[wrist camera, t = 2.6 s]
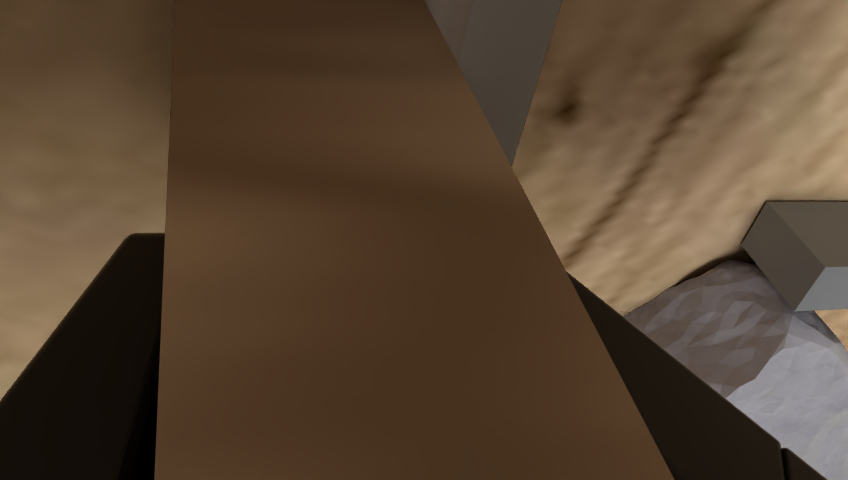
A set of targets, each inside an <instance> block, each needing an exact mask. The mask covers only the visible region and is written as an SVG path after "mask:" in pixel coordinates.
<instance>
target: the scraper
mask: <svg viewBox="0 0 848 480" xmlns="http://www.w3.org/2000/svg"><path fill="white" fill-rule="evenodd" d="M561 3H562V0H175V18H174V41H173V64H172V87H171V110H170V133H169V156H168V179H167V202H166V225H165V248H164V271H163V294H162V317H161V340H160V363H159V386H158V409H157V432H156V455H155V478H154V480H674V478H673V476H672V474H671V472H670V470H669V468H668V466H667V464H666V462H665V461H664V459H663V457H662V455H661V453H660V451H659V449H658V447H657V445H656V443H655V441H654V439H653V438H652V436H651V434H650V432H649V430H648V428H647V426H646V424H645V422H644V420H643V418H642V416H641V415H640V413H639V411H638V409H637V407H636V405H635V403H634V401H633V399H632V397H631V395H630V393H629V392H628V390H627V388H626V386H625V384H624V382H623V380H622V378H621V376H620V374H619V372H618V370H617V369H616V367H615V365H614V363H613V361H612V359H611V357H610V355H609V353H608V351H607V349H606V347H605V346H604V344H603V342H602V340H601V338H600V336H599V334H598V332H597V330H596V328H595V326H594V324H593V322H592V321H591V319H590V317H589V315H588V313H587V311H586V309H585V307H584V305H583V303H582V301H581V299H580V298H579V296H578V294H577V292H576V290H575V288H574V286H573V284H572V282H571V280H570V278H569V276H568V275H567V273H566V271H565V269H564V267H563V265H562V263H561V261H560V259H559V257H558V255H557V253H556V252H555V250H554V248H553V246H552V244H551V242H550V240H549V238H548V236H547V234H546V232H545V230H544V229H543V227H542V225H541V223H540V221H539V219H538V217H537V215H536V213H535V211H534V209H533V207H532V206H531V204H530V202H529V200H528V198H527V196H526V194H525V192H524V190H523V188H522V186H521V184H520V182H519V181H518V179H517V177H516V175H515V173H514V171H513V169H512V167H511V166H512V163H513V160H514V157H515V153H516V150H517V147H518V144H519V140H520V137H521V134H522V130H523V127H524V124H525V121H526V117H527V114H528V111H529V107H530V104H531V101H532V98H533V94H534V91H535V88H536V85H537V81H538V78H539V75H540V71H541V68H542V65H543V62H544V58H545V55H546V52H547V49H548V45H549V42H550V39H551V35H552V32H553V29H554V26H555V22H556V19H557V16H558V13H559V9H560V6H561Z"/></svg>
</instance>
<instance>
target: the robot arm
mask: <svg viewBox="0 0 848 480" xmlns="http://www.w3.org/2000/svg"><path fill="white" fill-rule="evenodd" d="M164 248H165V233H133V234H130V235H129V236H127V237H126V238H125V239H124V241H123V242H122V243H121V245H120V246H119V247H118V248H117V250H116V251H115V252H114V254H113V255H112V256H111V258H110V259H109V260H108V261H107V263H106V264H105V265H104V267H103V268H102V269H101V271H100V272H99V273H98V274H97V276H96V277H95V278H94V280H93V281H92V282H91V284H90V285H89V286H88V287H87V289H86V290H85V291H84V293H83V294H82V295H81V297H80V298H79V299H78V300H77V302H76V303H75V304H74V306H73V307H72V308H71V310H70V311H69V312H68V313H67V315H66V316H65V317H64V319H63V320H62V321H61V323H60V324H59V325H58V326H57V328H56V329H55V330H54V332H53V333H52V334H51V336H50V337H49V338H48V339H47V341H46V342H45V343H44V345H43V346H42V347H41V349H40V350H39V351H38V352H37V354H36V355H35V356H34V358H33V359H32V360H31V362H30V363H29V364H28V365H27V367H26V368H25V369H24V371H23V372H22V373H21V375H20V376H19V377H18V378H17V380H16V381H15V382H14V384H13V385H12V386H11V388H10V389H9V390H8V391H7V393H6V394H5V395H4V397H3V398H2V399H1V401H0V480H154V478H155V455H156V432H157V409H158V386H159V363H160V340H161V317H162V294H163V271H164ZM566 273H567V275H568V276H569V278H570V280H571V282H572V284H573V286H574V288H575V290H576V292H577V294H578V296H579V298H580V299H581V301H582V303H583V305H584V307H585V309H586V311H587V313H588V315H589V317H590V319H591V321H592V322H593V324H594V326H595V328H596V330H597V332H598V334H599V336H600V338H601V340H602V342H603V344H604V346H605V347H606V349H607V351H608V353H609V355H610V357H611V359H612V361H613V363H614V365H615V367H616V369H617V370H618V372H619V374H620V376H621V378H622V380H623V382H624V384H625V386H626V388H627V390H628V392H629V393H630V395H631V397H632V399H633V401H634V403H635V405H636V407H637V409H638V411H639V413H640V415H641V416H642V418H643V420H644V422H645V424H646V426H647V428H648V430H649V432H650V434H651V436H652V438H653V439H654V441H655V443H656V445H657V447H658V449H659V451H660V453H661V455H662V457H663V459H664V461H665V462H666V464H667V466H668V468H669V470H670V472H671V474H672V476H673V478H674V480H828V479H826V478H825V477H824V476H822V475H821V474H820V473H819V472H817V471H816V470H815V469H814V468H812V467H811V466H810V465H809V464H807V463H806V462H805V461H804V460H802V459H801V458H800V457H799V456H797V455H796V454H795V453H794V452H792V451H791V450H790V449H788V448H781V444H780V442H779V441H778V440H777V439H776V438H774V437H773V436H772V435H771V434H769V433H768V432H767V431H766V430H764V429H763V428H762V427H761V426H759V425H758V424H757V423H756V422H754V421H753V420H752V419H751V418H749V417H748V416H747V415H745V414H744V413H743V412H742V411H740V410H739V409H738V408H737V407H735V406H734V405H733V404H732V403H730V402H729V401H728V400H727V399H725V398H724V397H723V396H722V395H720V394H719V393H718V392H717V391H715V390H714V389H713V388H712V387H710V386H709V385H708V384H707V383H705V382H704V381H703V380H702V379H700V378H699V377H698V376H697V375H695V374H694V373H693V372H692V371H690V370H689V369H688V368H687V367H685V366H684V365H683V364H682V363H680V362H679V361H678V360H677V359H675V358H674V357H673V356H672V355H670V354H669V353H668V352H667V351H665V350H664V349H663V348H662V347H660V346H659V345H658V344H657V343H655V342H654V341H653V340H652V339H650V338H649V337H648V336H646V335H645V334H644V333H643V332H641V331H640V330H639V329H638V328H636V327H635V326H634V325H633V324H631V323H630V322H629V321H628V320H626V319H625V318H624V317H623V316H621V315H620V314H619V313H618V312H616V311H615V310H614V309H613V308H611V307H610V306H609V305H608V304H606V303H605V302H604V301H603V300H601V299H600V298H599V297H598V296H596V295H595V294H594V293H593V292H591V291H590V290H589V289H588V288H586V287H585V286H584V285H583V284H581V283H580V282H579V281H578V280H576V279H575V278H574V277H573V276H571V275H570V274H569V273H568V272H566Z"/></svg>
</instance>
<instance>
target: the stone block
mask: <svg viewBox="0 0 848 480" xmlns="http://www.w3.org/2000/svg"><path fill="white" fill-rule="evenodd" d="M624 318H625V319H626V320H628V321H629V322H630V323H631V324H633V325H634V326H635V327H636V328H638V329H639V330H640V331H641V332H643V333H644V334H645V335H646V336H648V337H649V338H650V339H652V340H653V341H654V342H655V343H657V344H658V345H659V346H660V347H662V348H663V349H664V350H665V351H667V352H668V353H669V354H670V355H672V356H673V357H674V358H675V359H677V360H678V361H679V362H680V363H682V364H683V365H684V366H685V367H687V368H688V369H689V370H690V371H692V372H693V373H694V374H695V375H697V376H698V377H699V378H700V379H702V380H703V381H704V382H705V383H707V384H708V385H709V386H710V387H712V388H713V389H714V390H715V391H717V392H718V393H719V394H720V395H722V396H723V397H724V398H725V399H727V400H728V401H729V402H730V403H732V404H733V405H734V406H735V407H737V408H738V409H739V410H740V411H742V412H743V413H744V414H745V415H747V416H748V417H749V418H751V419H752V420H753V421H754V422H756V423H757V424H758V425H759V426H761V427H762V428H763V429H764V430H766V431H767V432H768V433H769V434H771V435H772V436H773V437H774V438H776V439H777V440H778V441H779V442H780V444H781V448H788V449H790V450H791V451H792V452H794V453H795V454H796V455H797V456H799V457H800V458H801V459H802V460H804V461H805V462H806V463H807V464H809V465H810V466H811V467H812V468H814V469H815V470H816V471H817V472H819V473H820V474H821V475H822V476H824V477H825V478H826V479H828V480H848V353H847V351H846V349H845V347H844V346H843V344H842V343H841V341H840V340H839V339H838V338H837V337H836V335H835V334H834V333H833V332H832V331H831V330H830V328H829V327H828V326H827V325H826V324H825V323H824V322H823V320H822V319H821V318H820V317H819V316H818V315H817V314H816V313H815V310H813V311H793V309H792V308H791V307H790V305H789V304H788V303H787V302H786V300H785V299H784V298H783V297H782V295H781V294H780V293H779V292H778V290H777V289H776V288H775V287H774V285H773V284H772V283H771V282H770V280H769V279H768V278H767V277H766V275H765V274H764V273H763V272H762V270H761V269H760V268H759V267H758V265H754V264H749V263H746V262H743V261H733V260H728V261H726V262H723V263H721V264H719V265H717V266H716V267H715V268H713V269H711V270H709V271H707V272H706V273H704V274H703V275H701V276H698V277H695V278H692V279H689V280H686V281H685V282H683V283H681V284H679V285H677V286H676V287H670V288H668V289H666V290H665V291H664V292H663V293H661V294H660V295H659V296H657V297H656V298H654V299H653V300H651V301H650V302H648V303H646V304H644V305H642V306H640V307H638V308H637V309H635V310H633V311H632V312H630V313H629V314H627V315H625V316H624Z"/></svg>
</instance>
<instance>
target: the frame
mask: <svg viewBox="0 0 848 480" xmlns="http://www.w3.org/2000/svg"><path fill="white" fill-rule="evenodd" d="M741 245H742V246H743V248H744V249H745V250H746V251H747V253H748V254H749V255H750V257H751V258H752V259H753V260H754V262H755V263H756V264H757V265H758V267H759V268H760V269H761V270H762V272H763V273H764V274H765V275H766V277H767V278H768V279H769V280H770V282H771V283H772V284H773V285H774V287H775V288H776V289H777V290H778V292H779V293H780V294H781V295H782V297H783V298H784V299H785V300H786V302H787V303H788V304H789V305H790V307H791V308H792V309H793V311H813V310H834V309H848V202H766V204H765V206H764V207H763V209H762V211H761V212H760V214H759V216H758V217H757V219H756V221H755V222H754V224H753V226H752V227H751V229H750V231H749V233H748V234H747V236H746V238H745V239H744V241H743V243H742V244H741Z"/></svg>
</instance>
